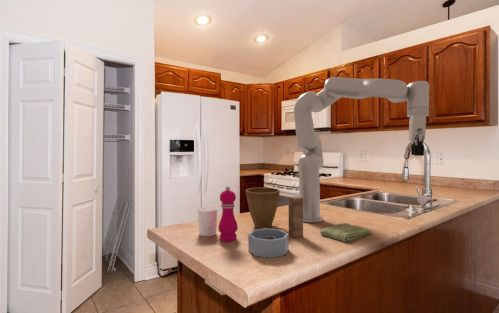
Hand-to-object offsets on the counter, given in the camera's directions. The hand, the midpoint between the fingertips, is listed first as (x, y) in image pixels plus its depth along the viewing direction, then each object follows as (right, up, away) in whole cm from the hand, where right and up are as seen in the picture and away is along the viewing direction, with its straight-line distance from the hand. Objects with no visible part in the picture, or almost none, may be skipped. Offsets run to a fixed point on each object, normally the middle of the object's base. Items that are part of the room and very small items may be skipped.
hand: (417, 155), depth 114 cm
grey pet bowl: (-62, -32, -20) cm, 72 cm away
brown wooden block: (-50, -31, -5) cm, 59 cm away
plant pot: (-62, -31, +10) cm, 70 cm away
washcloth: (-30, -32, -3) cm, 44 cm away
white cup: (-85, -32, -1) cm, 91 cm away
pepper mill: (-76, -32, -8) cm, 83 cm away
